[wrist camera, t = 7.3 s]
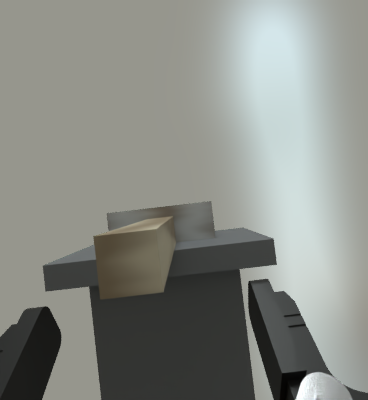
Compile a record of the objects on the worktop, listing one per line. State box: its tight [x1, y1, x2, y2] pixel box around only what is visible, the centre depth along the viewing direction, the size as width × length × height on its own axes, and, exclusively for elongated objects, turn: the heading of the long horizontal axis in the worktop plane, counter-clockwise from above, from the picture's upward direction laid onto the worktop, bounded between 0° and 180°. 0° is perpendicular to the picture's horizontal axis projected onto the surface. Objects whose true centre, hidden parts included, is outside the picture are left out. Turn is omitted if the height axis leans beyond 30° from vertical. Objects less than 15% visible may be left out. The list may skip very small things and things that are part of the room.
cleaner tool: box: [94, 201, 215, 300], centre depth 21 cm, size 10×20×4 cm, turn 0°
